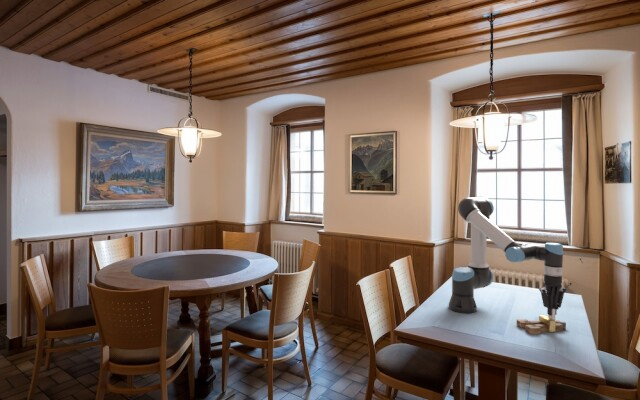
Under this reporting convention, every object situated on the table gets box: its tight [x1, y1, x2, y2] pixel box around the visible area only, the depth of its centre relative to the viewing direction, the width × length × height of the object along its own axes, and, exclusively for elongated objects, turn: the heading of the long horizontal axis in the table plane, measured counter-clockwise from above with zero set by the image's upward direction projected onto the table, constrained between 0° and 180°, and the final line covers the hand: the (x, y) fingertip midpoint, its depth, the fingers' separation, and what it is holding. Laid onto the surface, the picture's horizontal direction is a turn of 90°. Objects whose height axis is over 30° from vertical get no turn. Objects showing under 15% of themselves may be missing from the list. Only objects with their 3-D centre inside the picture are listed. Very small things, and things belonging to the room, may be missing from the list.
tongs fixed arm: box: [524, 323, 564, 335], centre depth 174 cm, size 4×18×3 cm, turn 97°
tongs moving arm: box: [516, 319, 567, 330], centre depth 180 cm, size 6×22×3 cm, turn 91°
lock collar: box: [538, 314, 557, 333], centre depth 177 cm, size 7×3×5 cm, turn 7°
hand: (551, 321), depth 176 cm, fingers closed
